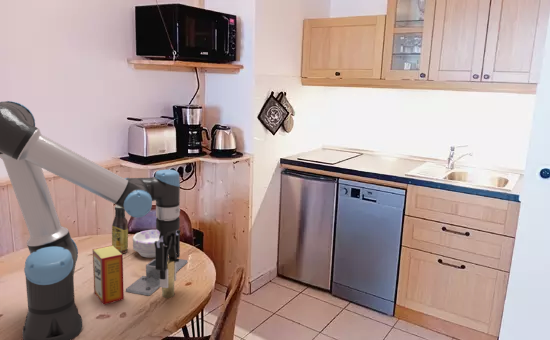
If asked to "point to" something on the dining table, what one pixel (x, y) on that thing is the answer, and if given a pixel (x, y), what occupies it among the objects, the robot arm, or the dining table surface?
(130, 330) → the dining table surface
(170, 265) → the hinge pin
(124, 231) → the sauce bottle
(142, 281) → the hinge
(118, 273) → the baking soda box
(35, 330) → the robot arm
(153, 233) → the paper bowls
